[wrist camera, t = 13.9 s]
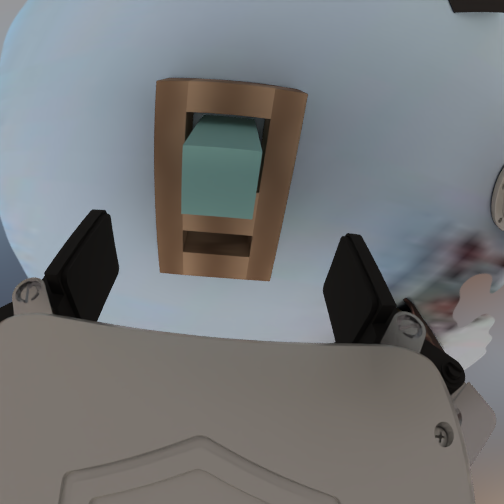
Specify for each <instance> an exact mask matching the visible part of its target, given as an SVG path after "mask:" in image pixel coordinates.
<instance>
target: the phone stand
mask: <svg viewBox="0 0 504 504" xmlns="http://www.w3.org/2000/svg"><path fill="white" fill-rule="evenodd" d="M449 1H450V4H451V6H452V8H453V11H454V13H456V12H502V13H504V0H449Z"/></svg>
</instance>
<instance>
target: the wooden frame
mask: <svg viewBox="0 0 504 504" xmlns="http://www.w3.org/2000/svg"><path fill="white" fill-rule="evenodd" d="M307 96H308V94H307V93H305V92H302V91H300V90H298V89H293V88H287V87H281V86H274V85H267V84H259V83H251V82H241V81H231V80H217V79H198V78H167V79H162V80H158V81H157V82H156V100H155V129H154V179H155V209H156V228H157V243H158V256H159V267H160V273H170V274H181V275H193V276H205V277H218V278H231V279H245V280H259V281H270V278H271V273H272V269H273V264H274V260H275V255H276V251H277V246H278V241H279V237H280V232H281V228H282V223H283V218H284V213H285V209H286V204H287V199H288V194H289V189H290V184H291V179H292V174H293V170H294V165H295V159H296V154H297V149H298V144H299V139H300V134H301V129H302V123H303V118H304V113H305V107H306V102H307ZM194 112H200V113H216V114H229V115H240V116H249V117H258V118H265V122H264V129H263V135H262V142H261V148H262V158H261V164H260V171H259V178H258V184H257V191H256V198H255V205H254V211H253V218H252V219H241V218H229V217H217V216H204V215H190V214H181V190H182V153H183V144H184V143H185V141H186V140H187V138H188V137H189V135H190V134H191V132H192V129H193V115H194Z"/></svg>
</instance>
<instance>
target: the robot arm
mask: <svg viewBox="0 0 504 504" xmlns="http://www.w3.org/2000/svg"><path fill="white" fill-rule="evenodd" d="M491 211H492V217H493V220H494V222H495V224H496V225H497V226H498V227H499V228H500V229H501V230H502V231H504V168H503V169H502V171H501V173H500V175H499V177H498V179H497V182H496V184H495V188H494V191H493V196H492V204H491ZM118 272H119V264H118V259H117V254H116V248H115V242H114V236H113V230H112V223H111V217H110V215H109V214H107V212H106V211H105V210H91V211H90V212H89V214H88V215H87V216H86V217H85V219H84V220H83V221H82V222H81V224H80V225H79V226H78V227H77V229H76V230H75V231H74V232H73V234H72V235H71V236H70V238H69V239H68V240H67V242H66V243H65V244H64V246H63V247H62V248H61V250H60V251H59V252H58V254H57V255H56V257H55V258H54V259H53V261H52V262H51V264H50V265H49V267H48V268H47V270H46V271H45V273H44V274H45V276H44V278H43V279H42V280H41V279H39V278H29V279H26V280H24V281H22V282H21V283H20V284H18V285H17V287H16V288H15V289H14V292H13V294H12V301H13V302H11V303H9V304H7V305H5V306H3V307H1V308H0V504H475V497H474V489H473V482H472V475H471V469H470V466H471V465H472V463H473V462H474V460H475V459H476V457H477V456H478V454H479V453H480V451H481V450H482V448H483V447H484V445H485V443H486V442H487V440H488V439H489V437H490V435H491V433H492V432H493V430H494V428H495V425H496V416H495V413H494V411H493V410H492V408H491V407H490V406H489V405H488V403H486V401H485V400H484V399H483V398H482V397H481V395H480V394H479V393H478V392H477V391H476V389H475V388H474V387H473V386H472V385H471V384H470V382H468V383H467V384H466V383H465V382H464V381H465V373H464V370H463V368H462V366H461V365H460V364H459V363H458V362H457V361H456V360H455V359H453V358H452V357H451V356H449V355H448V354H446V353H445V352H443V351H442V350H440V349H439V348H438V347H436V346H435V345H433V344H432V343H430V342H429V341H427V340H426V339H425V336H426V329H425V326H424V324H423V322H422V321H421V320H420V319H419V318H418V317H417V316H415V315H414V314H412V313H409V312H405V311H403V312H398V311H397V309H396V304H395V301H394V299H393V297H392V295H391V293H390V291H389V289H388V287H387V285H386V283H385V281H384V278H383V276H382V274H381V272H380V270H379V268H378V266H377V265H376V263H375V261H374V259H373V257H372V255H371V253H370V251H369V249H368V247H367V245H366V244H365V242H364V240H363V238H362V236H361V235H358V234H350V233H347V234H346V235H345V236H342V237H341V239H340V242H339V245H338V248H337V250H336V253H335V256H334V259H333V262H332V264H331V267H330V270H329V272H328V275H327V278H326V280H325V283H324V286H323V294H324V298H325V302H326V305H327V309H328V313H329V317H330V321H331V325H332V329H333V333H334V337H335V341H336V343H300V342H275V341H257V340H242V339H229V338H217V337H206V336H196V335H187V334H178V333H170V332H162V331H154V330H147V329H140V328H133V327H126V326H120V325H114V324H108V323H102V322H97V320H98V318H99V316H100V313H101V311H102V308H103V306H104V304H105V302H106V299H107V297H108V295H109V293H110V290H111V288H112V286H113V284H114V282H115V280H116V277H117V275H118Z"/></svg>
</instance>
